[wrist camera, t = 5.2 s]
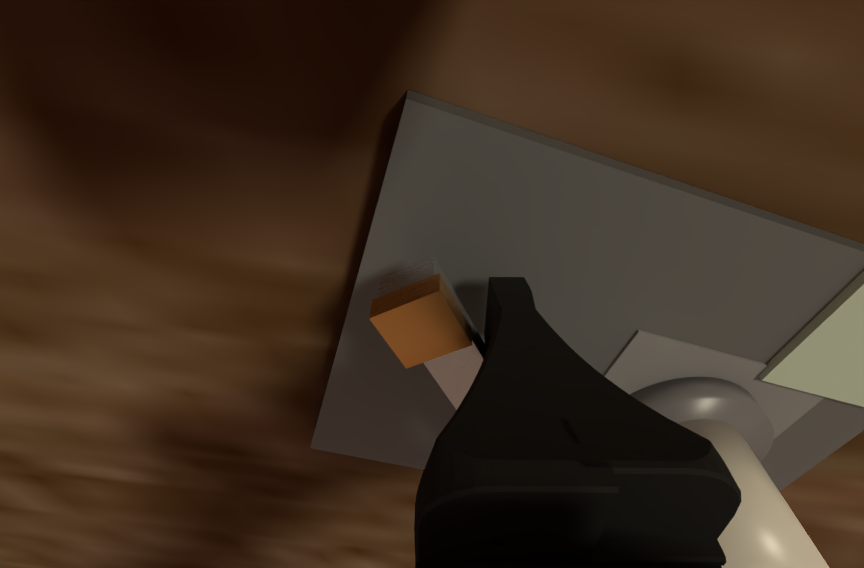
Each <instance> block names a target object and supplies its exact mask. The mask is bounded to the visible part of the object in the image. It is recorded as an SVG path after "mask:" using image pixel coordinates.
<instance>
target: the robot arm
mask: <svg viewBox="0 0 864 568" xmlns="http://www.w3.org/2000/svg"><path fill="white" fill-rule="evenodd" d="M484 341H485V348H486V354H485V357H484V359H483V362H482V364H481V366H480V369H479V371H478V373H477V375H476V377H475V379H474V381H473V383H472V385H471V387H470V389H469V391H468V392H467V394H466V396H465V397H464V399H463V401H462V402H461V404H460V406H459V407H458V409H457V410H456V412H455V414H454V415H453V417H452V418H451V419H450V421H449V422H448V423H447V425H446V426H445V427H444V429H443V430H442V431H441V433H440V434H439V436H438V437H437V438H436V440H435V443H434V446H433V449H432V451H431V453H430V456H429V458H428V461H427V463H426V466H425V469H424V471H423V474H422V477H421V480H420V483H419V487H418V491H417V496H416V502H415V524H414V531H415V559H416V565H415V568H722V567H721V566H724V565H725V563H726V556H725V554H724V552H723V550H722V548H721V546H720V544H719V542H718V540H717V539H718V538H719V536H720V535H721V533H722V532H723V531H724V529H725V528H726V527H727V525H728V524H729V522H730V521H731V520H732V518H733V517H734V516H735V514H736V512H737V510H738V507H739V505H740V503H741V490H740V488H739V487H738V485H737V483H736V481H735V480H734V478H733V476H732V474H731V472H730V471H729V469H728V467H727V465H726V464H725V462H724V460H723V459H722V457H721V456H720V454H719V453H718V451H717V450H716V449H715V447H714V446H713V444H712V443H711V441H710V440H708V439H706V438H704V437H702V436H700V435H699V434H697V433H695V432H693V431H691V430H689V429H687V428H685V427H683V426H681V425H680V424H678V423H676V422H674V421H672V420H670V419H668V418H666V417H665V416H663V415H661V414H660V413H658V412H656V411H655V410H653V409H651V408H650V407H648V406H647V405H645V404H643V403H642V402H640V401H639V400H637V399H636V398H634V397H633V396H631V395H629V394H628V393H626V392H625V391H624V390H622V389H621V388H619V387H618V386H617V385H615V384H614V383H613V382H611V381H610V380H608V379H607V378H606V377H604V376H603V375H602V374H601V373H599V372H598V371H597V370H595V369H594V368H593V367H592V366H591V365H590V364H588V363H587V362H586V361H585V360H584V359H583V358H581V357H580V356H579V355H578V354H577V353H576V352H575V351H574V350H573V349H572V348H571V347H570V346H569V345H568V344H567V343H566V342H565V341H564V340H563V339H562V338H561V337H560V336H559V335H558V334H557V333H556V332H555V331H554V330H553V329H552V327H551V326H550V325H549V324H548V323H547V322H546V320H545V319H544V318H543V317H542V316H541V315H540V313H539V312H538V311H537V310H536V308H535V303H534V299H533V295H532V291H531V289H530V287H529V285H528V283H527V281H526V280H525V278H524V277H489V283H488V294H487V305H486V316H485V327H484Z"/></svg>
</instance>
